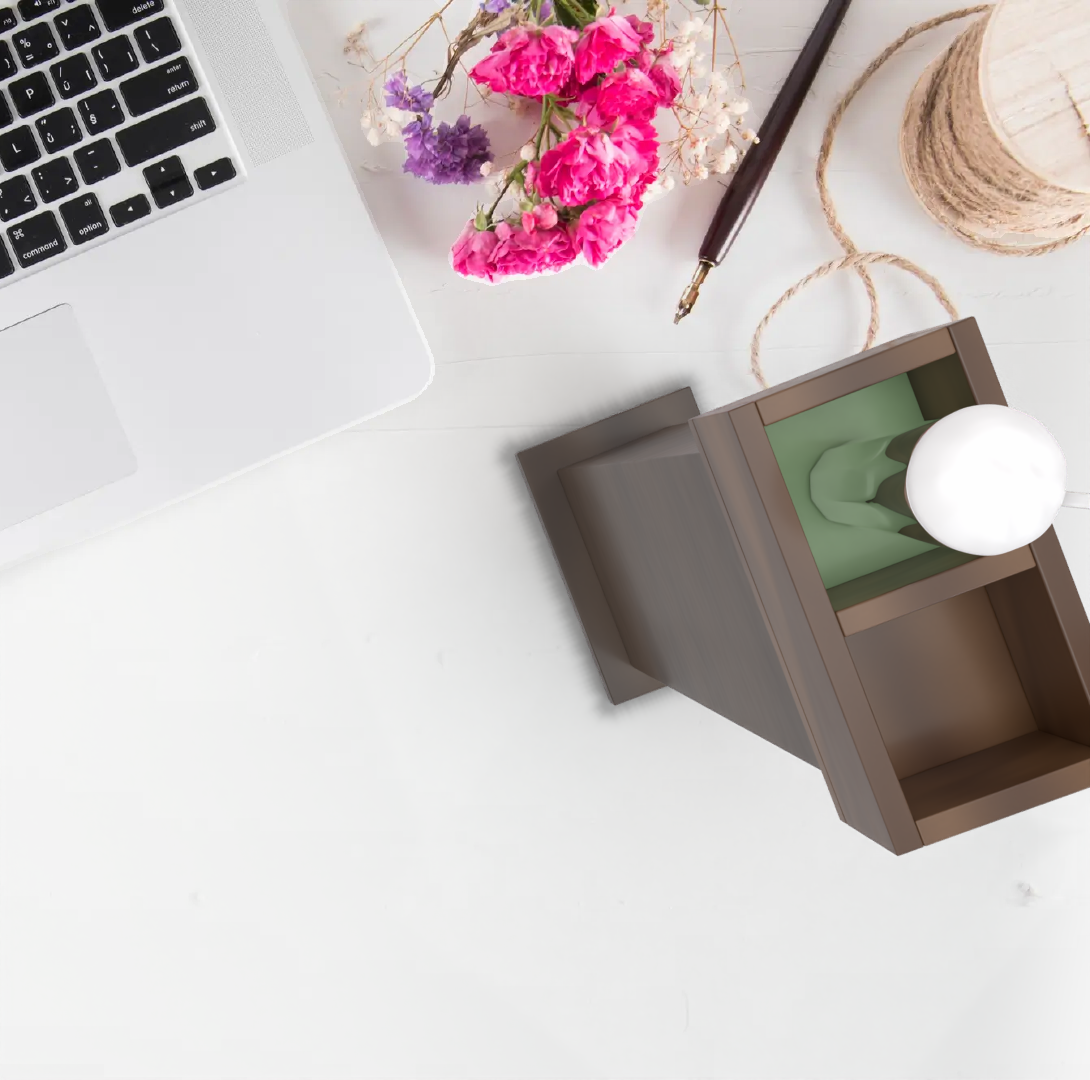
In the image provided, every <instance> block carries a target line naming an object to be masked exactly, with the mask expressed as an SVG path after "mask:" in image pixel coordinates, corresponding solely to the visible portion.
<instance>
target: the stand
mask: <svg viewBox="0 0 1090 1080" xmlns="http://www.w3.org/2000/svg"><path fill="white" fill-rule="evenodd" d="M694 395H695V394H694V393H693V389H692V387H691V386H689V385H687V386H684V387H682V388H679V389H676V390H673V391H672V392H669V393H666V394H664V395H661V396H659V397H656V398H654V399H651V400H648V401H645V402H643V403H641V404H638V405H636V406H633V407H630V408H628V409H625V410H623V411H621V412H618V413H615V414H613V415H610V416H607V417H604V418H602V419H599V420H597V421H595V422H592V423H589V424H587V425H585V426H582V427H579V428H576V429H574V430H571V431H569V432H566V433H564V434H561V435H559V436H556V437H553V438H551V439H549V440H546V441H544V442H540V443H538V444H535V445H533V446H530V447H528V448H526V449H523V450H521V451H518V452H515V453H514V457H515V460H516V463H517V465H518V467H519V470H520V473H521V475H522V477H523V481H524V483H525V485H526V488H527V490H528V493H529V496H530V499H531V501H532V503H533V506H534V509H535V512H536V514H537V517H538V518H539V522H540V524H541V526H542V529H543V533H544V535H545V537H546V540H547V542H548V544H549V548H550V550H551V553H552V555H553V558H554V561H555V563H556V565H557V569H558V571H559V573H560V576H561V579H562V581H563V584H564V586H565V589H566V591H567V594H568V596H569V599H570V601H571V604H572V607H573V609H574V612H575V614H576V617H577V619H578V620H577V621H578V622H579V625H580V628H581V630H582V632H583V633H582V634H583V636H584V638H585V641H586V643H587V645H588V648H589V651H590V653H591V656H592V659H593V661H594V663H595V667H596V670H597V672H598V673H599V676H600V679H601V682H602V685H603V687H604V689H605V692H606V695H607V698H608V700H609V702H610V704H611V705H613V706H618V705H621V704H624V703H626V702H628V701H631V700H634V699H636V698H639V697H643V696H645V695H648V694H650V693H653V692H655V691H658V690H661V689H663V688H667V687H668V688H670V689H672V690H674V691H675V692H677V693H680V694H681V695H683V696H684V697H686V698H689V699H690V700H692V701H694V702H696V703H697V704H699V705H700V706H702V707H704V708H706V709H708V710H710V711H712V712H714V713H716V714H717V715H719V716H721V717H723V718H725V719H727V720H728V721H730V722H732V723H734V724H736V725H737V726H740V727H741V728H743V729H745V730H747V731H748V732H750V733H752V734H754V735H756V736H758V737H759V738H760V739H763V740H764V741H767V742H768V743H770V744H772V745H773V746H776V748H777V747H778V748H779V749H781V750H783V751H785V752H786V753H789V754H790V755H792V756H794V757H796V758H797V759H800V760H801V761H803V762H805V763H807V764H808V765H810V766H812V767H814V768H815V769H818V770H819V771H821V769H820V766H819V764H818V761H817V758H816V756H815V753H814V751H813V748H812V745H811V743H810V740H809V738H808V735H807V732H806V730H805V727H804V724H803V722H802V719H801V717H800V714H799V711H798V709H797V706H796V704H795V701H794V698H793V696H792V693H791V690H790V688H789V685H788V683H787V680H786V677H785V675H784V672H783V670H782V667H781V664H780V662H779V659H778V657H777V654H776V651H775V649H774V646H773V643H772V641H771V638H770V636H769V633H768V630H767V628H766V625H765V623H764V620H763V617H762V615H761V612H760V609H759V607H758V604H757V602H756V599H755V596H754V594H753V591H752V589H751V586H750V583H749V581H748V578H747V576H746V573H745V570H744V568H743V565H742V562H741V560H740V557H739V555H738V552H737V549H736V547H735V544H734V542H733V539H732V536H731V534H730V531H729V528H728V526H727V523H726V521H725V518H724V515H723V513H722V510H721V508H720V505H719V502H718V500H717V497H716V495H715V492H714V489H713V487H712V484H711V481H710V479H709V476H708V474H707V471H706V468H705V466H704V463H703V461H702V458H701V455H700V453H699V450H698V447H697V445H696V442H695V440H694V437H693V434H692V432H691V429H690V427H689V424H688V420H689V419H691V418H694V417H696V416H699V415H701V414H702V413H701V410H700V409H699V405H698V402H697V400H696V398H695V396H694Z"/></svg>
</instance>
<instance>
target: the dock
mask: <svg viewBox="0 0 1090 1080" xmlns="http://www.w3.org/2000/svg"><path fill="white" fill-rule="evenodd" d="M985 404H994V405H1002V406H1006V407H1009V403H1008V402H1007V399H1006V396H1005V393H1004V391H1003V388H1002V386H1001V382H1000V380H999V377H998V375H997V372H996V370H995V367H994V364H993V361H992V359H991V356H990V353H989V351H988V348H987V346H986V343H985V339H984V338H983V335H982V332H981V330H980V328H979V324H978V322H977V319H976V317H975V316H972V315H971V316H967V317H965V318H961V319H957V320H953V321H949V322H947V323H946V322H945V323H942V324H939V325H936V326H932V327H928V328H924V329H921V330H918V331H915V332H911V333H908V334H905V335H902V336H899V337H897V338H894V339H891V340H889V341H886V342H884V343H881V344H879V345H876V346H874V347H871V348H868V349H866V350H864V351H860V352H858V353H855V354H852V355H851V356H848V357H845V358H843V359H840V360H838V361H835V362H832V363H830V364H827V365H825V366H821V367H819V368H817V369H815V370H812V371H809V372H807V373H803V374H802V375H799V376H796V377H794V378H791V379H789V380H786V381H784V382H781V383H779V384H776V385H773V386H771V387H769V388H766V389H763V390H761V391H758V392H755V393H753V394H750V395H748V396H745V397H742V398H740V399H738V400H737V399H736V400H735V401H732V402H729V403H727V404H724V405H721V406H720V407H717V408H714V409H711V410H709V411H705V412H704V413H700V414H701V415H699V416H696V417H694V418H691V419H689V420H688V424H689V427H690V429H691V432H692V434H693V437H694V440H695V442H696V445H697V447H698V450H699V453H700V455H701V458H702V461H703V463H704V466H705V468H706V471H707V474H708V476H709V479H710V481H711V484H712V487H713V489H714V492H715V495H716V497H717V500H718V502H719V505H720V508H721V510H722V513H723V515H724V518H725V521H726V523H727V526H728V528H729V531H730V534H731V536H732V539H733V542H734V544H735V547H736V549H737V552H738V555H739V557H740V560H741V562H742V565H743V568H744V570H745V573H746V576H747V578H748V581H749V583H750V586H751V589H752V591H753V594H754V596H755V599H756V602H757V604H758V607H759V609H760V612H761V615H762V617H763V620H764V623H765V625H766V628H767V630H768V633H769V636H770V638H771V641H772V643H773V646H774V649H775V651H776V654H777V657H778V659H779V662H780V664H781V667H782V670H783V672H784V675H785V677H786V680H787V683H788V685H789V688H790V690H791V693H792V696H793V698H794V701H795V704H796V706H797V709H798V711H799V714H800V717H801V719H802V722H803V724H804V727H805V730H806V732H807V735H808V738H809V740H810V743H811V745H812V748H813V751H814V753H815V756H816V758H817V761H818V764H819V766H820V769H821V770H820V771H821V774H822V776H823V779H824V782H825V785H826V787H827V790H828V793H829V795H830V798H831V800H832V803H833V805H834V808H835V810H836V813H837V815H838V818H839V820H840V821H841V822H843V823H844V824H846V825H847V826H848V827H850V828H852V829H853V830H855V831H857V832H858V833H860V834H861V835H863V836H864V837H866V838H868V839H869V840H871V841H873V842H874V843H875V844H877V845H879V846H881V847H882V848H884V849H885V850H887V851H888V852H890V853H892V854H894V855H895V856H896V857H900V856H902V855H903V856H904V855H905V854H908V853H912V852H915V851H917V850H920V849H922V848H924V847H928V846H930V845H933V844H936V843H939V842H942V841H944V840H948V839H950V838H953V837H956V836H959V835H961V834H964V833H967V832H971V831H972V830H975V829H978V828H981V827H983V826H986V825H989V824H993V823H995V822H998V821H1001V820H1003V819H1007V818H1009V817H1011V816H1014V815H1018V814H1020V813H1023V812H1027V811H1028V810H1031V809H1034V808H1036V807H1037V808H1038V807H1040V806H1043V805H1045V804H1048V803H1051V802H1055V801H1057V800H1059V799H1062V798H1065V797H1067V796H1070V795H1073V794H1076V793H1079V792H1082V791H1084V790H1087V789H1090V620H1089V617H1088V615H1087V612H1086V610H1085V607H1084V604H1083V602H1082V601H1083V600H1082V598H1081V596H1080V593H1079V591H1078V588H1077V586H1076V583H1075V580H1074V578H1073V575H1072V572H1071V569H1070V567H1069V564H1068V562H1067V559H1066V555H1065V553H1064V551H1063V548H1062V546H1061V543H1060V540H1059V538H1058V534H1057V533H1056V530H1055V527H1054V523H1052V524H1051V525H1050V527H1049V528H1048V529H1047V530H1046V531H1045V532H1044V533H1043V534H1042V535H1041V536H1040V537H1039V538H1037V539H1036V540H1034V541H1032V542H1031V543H1029V544H1027V545H1024V546H1022V547H1019V548H1017V549H1014V550H1012V551H1009V552H1006V553H1003V554H999V555H991V556H984V555H975V554H969V553H965V552H961V551H957V550H953V549H949V548H945V547H941V546H937V545H933V544H929V543H925V542H921V541H918V540H915V539H911V538H908V537H903V536H897V535H892V534H887V533H882V532H876V531H871V530H866V529H861V528H856V527H852V526H848V525H844V524H841V523H837V522H833V521H829V520H827V519H826V518H825V516H824V515H823V514H822V513H821V511H820V510H819V509H818V508H817V507H816V505H815V504H814V503H813V502H812V500H811V496H810V472H811V470H812V469H813V468H814V466H815V465H816V463H817V462H818V460H819V459H820V457H821V456H822V454H823V453H824V451H825V450H828V449H831V448H833V447H836V446H839V445H841V444H844V443H846V442H849V441H852V440H855V439H859V438H863V437H867V436H871V435H875V434H879V433H883V432H887V431H891V430H895V429H899V428H903V427H907V426H911V425H914V424H917V423H920V422H923V421H926V420H929V419H932V418H936V417H939V416H942V415H945V414H949V413H952V412H955V411H958V410H960V409H963V408H966V407H970V406H976V405H985Z"/></svg>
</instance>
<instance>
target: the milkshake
mask: <svg viewBox="0 0 1090 1080" xmlns="http://www.w3.org/2000/svg"><path fill="white" fill-rule="evenodd" d="M1067 487H1068V463H1067V459H1066V456H1065V453H1064V451H1063V449H1062V447H1061V446H1060V444H1059V442H1058V440H1057V439H1056V438H1055V436H1054V435H1053V434H1052V432H1051V431H1050V430H1049V429H1048V427H1047V426H1045V424H1043V423H1042V422H1041V421H1040V420H1039V419H1037V418H1035V417H1034V416H1032V415H1031V414H1029V413H1026V412H1024V411H1021V410H1018V409H1016V408H1012V407H1010V406H1008V407H1006V406H1002V405H994V404H985V405H976V406H970V407H966V408H963V409H960V410H958V411H955V412H952V413H949V414H945V415H942V416H939V417H936V418H932V419H929V420H926V421H923V422H920V423H917V424H914V425H911V426H907V427H903V428H899V429H895V430H891V431H887V432H883V433H879V434H875V435H871V436H867V437H863V438H859V439H855V440H852V441H849V442H846V443H844V444H841V445H839V446H836V447H833V448H831V449H828V450H825V451H824V453H823V454H822V456H821V457H820V459H819V460H818V462H817V463H816V465H815V466H814V468H813V469H812V470H811V472H810V496H811V500H812V502H813V503H814V504H815V505H816V507H817V508H818V509H819V510H820V511H821V513H822V514H823V515H824V516H825V518H826V519H827V520H829V521H833V522H837V523H841V524H844V525H848V526H852V527H856V528H861V529H866V530H871V531H876V532H882V533H887V534H892V535H897V536H903V537H908V538H911V539H915V540H918V541H921V542H925V543H929V544H933V545H937V546H941V547H945V548H949V549H953V550H957V551H961V552H965V553H969V554H975V555H984V556H991V555H999V554H1003V553H1006V552H1009V551H1012V550H1014V549H1017V548H1019V547H1022V546H1024V545H1027V544H1029V543H1031V542H1032V541H1034V540H1036V539H1037V538H1039V537H1040V536H1041V535H1042V534H1043V533H1044V532H1045V531H1046V530H1047V529H1048V528H1049V527H1050V525H1051V524H1053V522H1054V521H1055V519H1056V518H1057V516H1058V514H1059V512H1060V510H1061V507H1064V508H1073V509H1083V510H1090V492H1081V491H1070V490H1069V491H1068V490H1067Z"/></svg>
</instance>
